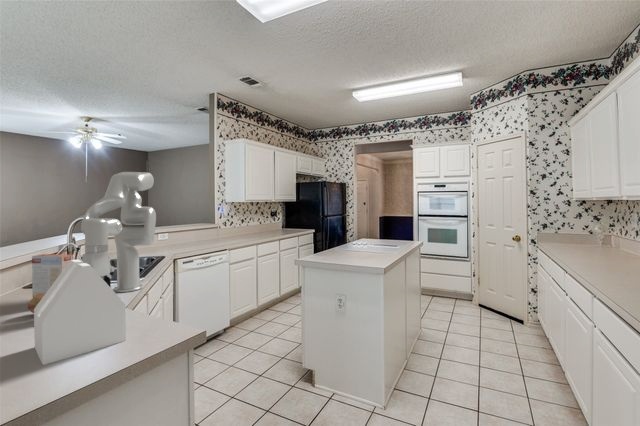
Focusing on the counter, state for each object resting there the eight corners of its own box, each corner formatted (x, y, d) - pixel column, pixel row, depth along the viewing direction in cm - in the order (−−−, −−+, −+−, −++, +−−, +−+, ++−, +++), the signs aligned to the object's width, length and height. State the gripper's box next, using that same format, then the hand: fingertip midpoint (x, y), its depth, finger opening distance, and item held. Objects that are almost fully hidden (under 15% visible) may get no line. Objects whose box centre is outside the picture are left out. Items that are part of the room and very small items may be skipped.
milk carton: (42, 365, 80) (41, 271, 80) (34, 347, 90) (33, 264, 90) (125, 341, 95) (124, 261, 94) (110, 328, 105) (109, 256, 104)
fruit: (22, 317, 114) (22, 296, 114) (42, 311, 122) (41, 291, 121) (42, 318, 114) (42, 297, 113) (61, 311, 121) (60, 291, 121)
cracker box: (74, 301, 134) (73, 254, 134) (61, 305, 128) (60, 256, 128) (45, 300, 136) (45, 253, 135) (31, 304, 130) (31, 255, 129)
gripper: (105, 247, 132) (105, 286, 132) (68, 252, 115) (68, 297, 115) (121, 247, 131) (121, 286, 131) (85, 252, 114) (86, 297, 114)
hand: (96, 291), depth 123 cm, fingers open, 9 cm apart
